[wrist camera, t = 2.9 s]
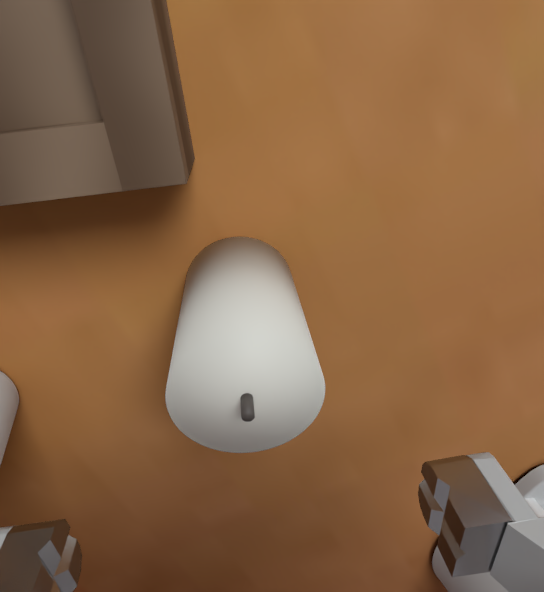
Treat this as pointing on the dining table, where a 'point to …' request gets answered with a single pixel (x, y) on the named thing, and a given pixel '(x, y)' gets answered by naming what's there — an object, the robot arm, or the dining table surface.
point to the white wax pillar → (242, 351)
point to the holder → (89, 99)
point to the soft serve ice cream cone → (7, 409)
